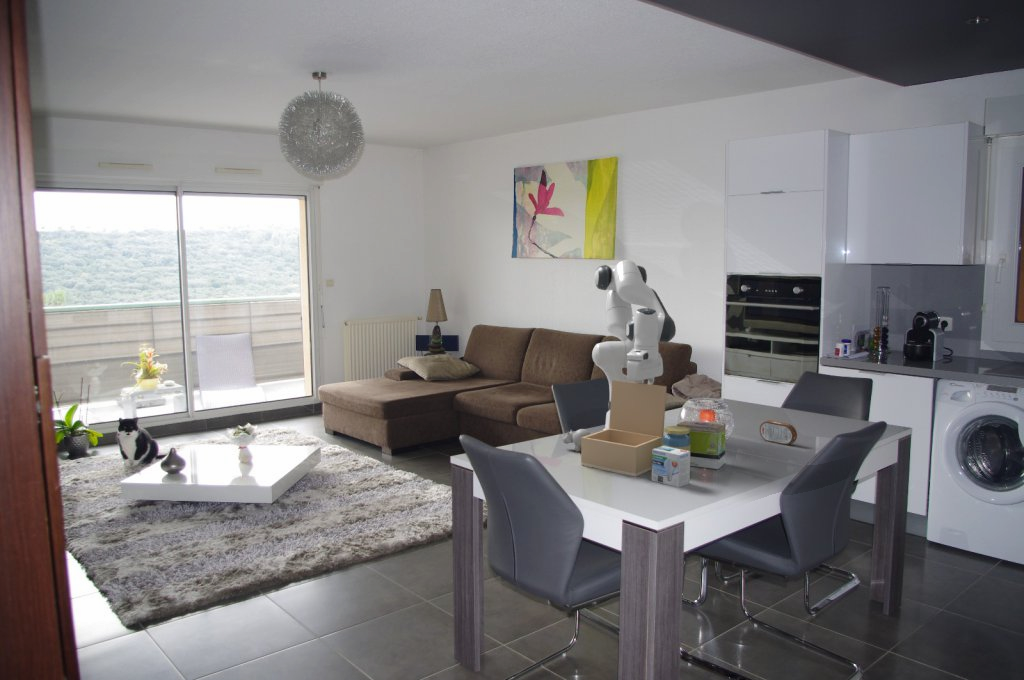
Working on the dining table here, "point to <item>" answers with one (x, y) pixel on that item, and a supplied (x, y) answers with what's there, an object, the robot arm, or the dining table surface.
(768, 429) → the tin
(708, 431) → the tea box
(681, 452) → the light bulb box
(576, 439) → the toy rhinoceros
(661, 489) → the dining table surface
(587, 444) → the carton
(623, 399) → the carton flap
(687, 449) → the jar
